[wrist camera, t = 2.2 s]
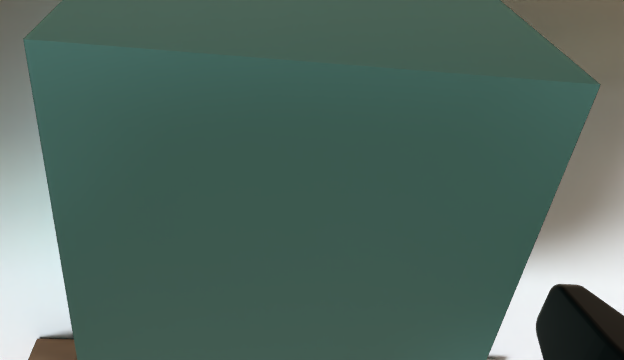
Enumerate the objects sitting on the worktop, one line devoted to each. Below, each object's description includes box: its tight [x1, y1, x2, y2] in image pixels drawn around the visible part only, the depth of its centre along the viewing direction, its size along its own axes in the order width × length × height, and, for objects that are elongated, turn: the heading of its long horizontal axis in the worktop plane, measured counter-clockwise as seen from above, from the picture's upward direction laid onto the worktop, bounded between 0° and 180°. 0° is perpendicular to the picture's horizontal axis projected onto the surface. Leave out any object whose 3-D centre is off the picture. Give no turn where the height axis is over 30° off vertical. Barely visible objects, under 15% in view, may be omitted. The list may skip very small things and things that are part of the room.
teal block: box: [23, 0, 600, 360], centre depth 10 cm, size 5×9×7 cm, turn 174°
